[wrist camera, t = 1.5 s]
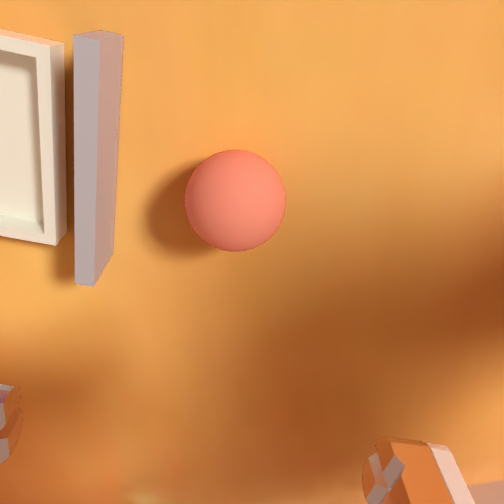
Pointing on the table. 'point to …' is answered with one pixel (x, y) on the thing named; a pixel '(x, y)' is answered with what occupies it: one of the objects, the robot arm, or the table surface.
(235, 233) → the ball
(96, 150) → the bar
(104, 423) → the table surface
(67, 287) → the table surface
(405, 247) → the table surface
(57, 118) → the tray
